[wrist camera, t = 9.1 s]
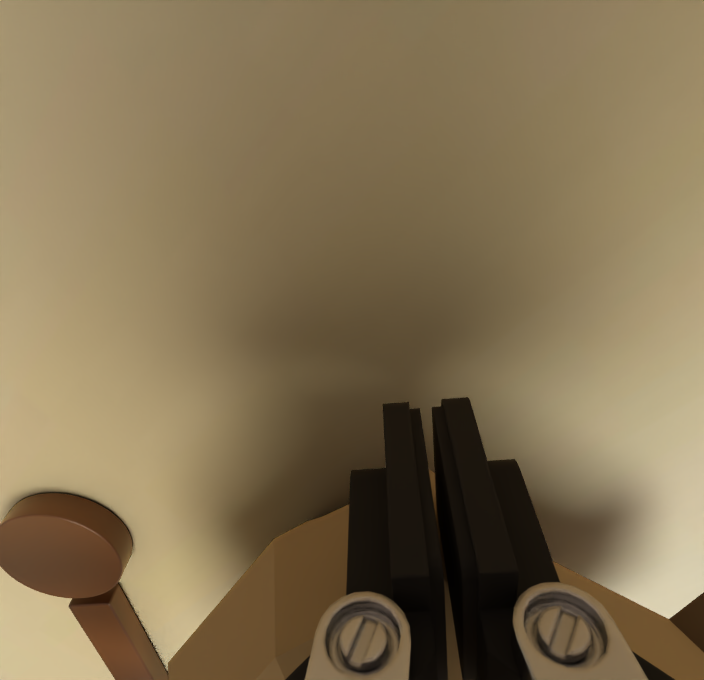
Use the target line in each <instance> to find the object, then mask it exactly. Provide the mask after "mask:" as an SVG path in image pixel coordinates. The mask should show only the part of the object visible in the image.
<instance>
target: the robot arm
mask: <svg viewBox="0 0 704 680" xmlns="http://www.w3.org/2000/svg"><path fill="white" fill-rule="evenodd" d="M383 419H384V440H385V461H386V468H378V469H363V470H351V473H350V495H349V525H348V554H347V583H346V596H343V597H341V598H340V599H338V600H337V601H336V602H334V603H333V604H332V605H330V606H329V608H328V609H327V610H326V612H325V613H324V614H323V615H322V617H321V619H320V621H319V624H318V627H317V629H316V632H315V637H314V641H313V646H312V650H311V654H310V656H309V657H308V658H307V659H305V660H304V661H303V662H302V663H301V664H300V665H299V666H298V667H297V668H296V669H295V670H294V671H293V672H292V673H291V674H290V675H289V676H288V677H287V678H286V679H285V680H448V668H447V641H446V615H445V588H444V574H443V565H442V557H441V550H440V543H439V536H438V529H437V522H436V515H435V509H434V502H433V495H432V488H431V481H430V475H429V468H428V461H427V454H426V447H425V441H424V434H423V427H422V420H421V413H420V408H414V409H409V402H401V403H388V404H383ZM432 423H433V445H434V467H435V490H436V506H437V515H438V521H439V528H440V535H441V541H442V548H443V554H444V560H445V567H446V573H447V579H448V587H449V594H450V601H451V607H452V614H453V621H454V627H455V634H456V641H457V647H458V654H459V660H460V667H461V673H462V678H463V680H675V679H674V678H672V677H671V676H669V675H668V674H666V673H665V672H663V671H662V670H660V669H659V668H657V667H655V666H654V665H652V664H651V663H649V662H648V661H646V660H645V659H643V658H642V657H640V656H639V655H637V654H636V653H634V652H633V651H631V649H630V647H629V646H628V644H627V642H626V640H625V639H624V637H623V635H622V634H621V632H620V630H619V628H618V627H617V625H616V623H615V622H614V620H613V618H612V617H611V615H610V614H609V613H608V612H607V610H606V609H605V608H604V606H603V605H602V604H601V603H600V602H599V601H597V600H596V599H595V598H594V597H592V596H591V595H590V594H589V593H587V592H585V591H583V590H581V589H579V588H577V587H575V586H572V585H568V584H563V583H560V580H559V577H558V575H557V572H556V569H555V566H554V563H553V561H552V558H551V555H550V552H549V549H548V547H547V544H546V541H545V538H544V535H543V533H542V530H541V527H540V524H539V521H538V519H537V516H536V513H535V510H534V507H533V505H532V502H531V499H530V496H529V493H528V491H527V488H526V485H525V482H524V479H523V477H522V474H521V471H520V468H519V466H518V464H517V462H516V461H515V459H511V460H496V461H487V458H486V455H485V451H484V448H483V444H482V441H481V437H480V434H479V430H478V427H477V423H476V420H475V416H474V413H473V410H472V406H471V403H470V400H469V398H468V397H466V398H453V399H442V401H441V407H432Z"/></svg>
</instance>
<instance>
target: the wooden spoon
mask: <svg viewBox="0 0 704 680" xmlns="http://www.w3.org/2000/svg"><path fill="white" fill-rule="evenodd" d="M131 553H132V539H131V536H130V533H129V531H128V530H127V528H126V527H125V525H124V524H123V523H122V522H121V521H120V520H119V519H118V517H116V516H115V515H114V514H113V513H112V512H110V511H109V510H107V509H106V508H104V507H102V506H100V505H99V504H97V503H95V502H92V501H90V500H87V499H84V498H81V497H78V496H74V495H69V494H62V493H44V494H37V495H33V496H30V497H27V498H25V499H23V500H21V501H20V502H18V503H17V504H16V505H14V506H13V508H12V509H11V510H10V511H9V513H8V514H7V515H6V517H5V518H4V519H3V521H2V522H1V523H0V566H1V567H2V569H3V570H4V571H5V572H6V573H8V574H9V575H10V576H11V577H13V578H14V579H15V580H17V581H18V582H20V583H22V584H24V585H25V586H27V587H29V588H32V589H34V590H36V591H39V592H42V593H45V594H49V595H53V596H57V597H64V598H72V600H71V602H70V604H69V608H70V610H71V611H72V613H73V614H74V616H75V617H76V619H77V621H78V622H79V624H80V625H81V627H82V628H83V630H84V631H85V633H86V635H87V636H88V638H89V639H90V641H91V642H92V644H93V646H94V647H95V649H96V650H97V652H98V653H99V655H100V656H101V658H102V660H103V661H104V663H105V664H106V666H107V667H108V669H109V671H110V672H111V674H112V675H113V677H114V678H115V680H169V676H168V674H167V672H166V670H165V669H164V667H163V665H162V663H161V661H160V659H159V657H158V656H157V654H156V652H155V650H154V648H153V646H152V645H151V643H150V641H149V639H148V637H147V635H146V633H145V632H144V630H143V628H142V626H141V624H140V622H139V621H138V619H137V617H136V615H135V613H134V611H133V609H132V608H131V606H130V604H129V602H128V600H127V598H126V597H125V595H124V593H123V591H122V589H121V587H120V585H119V584H117V583H118V582H119V580H120V578H121V576H122V574H123V572H124V569H125V567H126V565H127V563H128V561H129V558H130V556H131Z"/></svg>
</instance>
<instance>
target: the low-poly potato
mask: <svg viewBox="0 0 704 680" xmlns="http://www.w3.org/2000/svg"><path fill="white" fill-rule="evenodd" d="M429 475H430V481H431V488H432V495H433V502H434V509H435V515H436V522H437V529H438V536H439V543H440V550H441V557H442V565H443V574H444V588H445V615H446V641H447V668H448V680H463V678H462V673H461V667H460V660H459V654H458V647H457V641H456V634H455V627H454V621H453V614H452V607H451V601H450V594H449V587H448V579H447V573H446V567H445V560H444V554H443V548H442V541H441V535H440V528H439V521H438V515H437V506H436V490H435V473H434V472H432V471H431V470H430V469H429ZM348 525H349V504H348V505H346V506H344V507H342V508H340V509H338V510H335V511H333V512H331V513H329V514H327V515H325V516H322V517H319V518H316V519H313V520H309V521H307V522H305V523H303V524H301V525H299V526H297V527H295V528H293V529H291V530H290V531H288V532H286V533H284V534H282V535H280V536H278V537H276V538H274V539H273V540H272V542H271V543H270V544H269V545H268V546H267V547H266V549H265V550H264V551H263V552H262V553H261V555H260V556H259V557H258V558H257V559H256V560H255V562H254V563H253V564H252V565H251V566H250V567H249V569H248V570H247V571H246V572H245V573H244V574H243V576H242V577H241V578H240V579H239V580H238V581H237V583H236V584H235V585H234V586H233V587H232V588H231V590H230V591H229V592H228V593H227V594H226V596H225V597H224V598H223V599H222V600H221V601H220V603H219V604H218V605H217V606H216V607H215V608H214V610H213V611H212V612H211V613H210V614H209V615H208V617H207V618H206V619H205V620H204V621H203V622H202V624H201V625H200V626H199V627H198V628H197V630H196V631H195V632H194V633H193V634H192V635H191V637H190V638H189V639H188V640H187V641H186V642H185V644H184V645H183V646H182V647H181V648H180V649H179V651H178V652H177V653H176V654H175V655H174V656H173V658H172V659H171V660H170V661H169V662H168V676H169V680H285V679H286V678H287V677H288V676H289V675H290V674H291V673H292V672H293V671H294V670H295V669H296V668H297V667H298V666H299V665H300V664H301V663H302V662H303V661H304V660H305V659H307V658H308V657H309V656H310V654H311V650H312V646H313V641H314V637H315V632H316V629H317V627H318V624H319V621H320V619H321V617H322V615H323V614H324V613H325V612H326V610H327V609H328V608H329V606H330V605H332V604H333V603H334V602H336V601H337V600H338V599H340V598H341V597H343V596H346V583H347V554H348ZM553 563H554V566H555V569H556V572H557V575H558V577H559V580H560V583H563V584H568V585H572V586H575V587H577V588H579V589H581V590H583V591H585V592H587V593H589V594H590V595H591V596H592V597H594V598H595V599H596V600H597V601H599V602H600V603H601V604H602V605H603V606H604V608H605V609H606V610H607V612H608V613H609V614H610V615H611V617H612V618H613V620H614V622H615V623H616V625H617V627H618V628H619V630H620V632H621V634H622V635H623V637H624V639H625V640H626V642H627V644H628V646H629V647H630V649H631V651H633V652H634V653H636V654H637V655H639V656H640V657H642V658H643V659H645V660H646V661H648V662H649V663H651V664H652V665H654V666H655V667H657V668H659V669H660V670H662V671H663V672H665V673H666V674H668V675H669V676H671V677H672V678H674V679H675V680H704V593H703V594H701V595H700V596H699V597H697V598H696V599H695V600H693V601H692V602H691V603H689V604H688V605H687V606H686V607H684V608H683V609H682V610H680V611H679V612H678V613H676V614H675V615H674V616H673V617H671V618H670V619H667V618H665V617H663V616H661V615H659V614H657V613H655V612H653V611H651V610H649V609H647V608H645V607H643V606H641V605H639V604H637V603H635V602H633V601H631V600H629V599H627V598H625V597H623V596H621V595H619V594H617V593H615V592H613V591H611V590H609V589H607V588H605V587H603V586H601V585H599V584H597V583H595V582H593V581H591V580H589V579H587V578H585V577H583V576H581V575H579V574H577V573H575V572H573V571H571V570H569V569H567V568H565V567H563V566H561V565H559V564H557V563H555V562H553Z"/></svg>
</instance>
